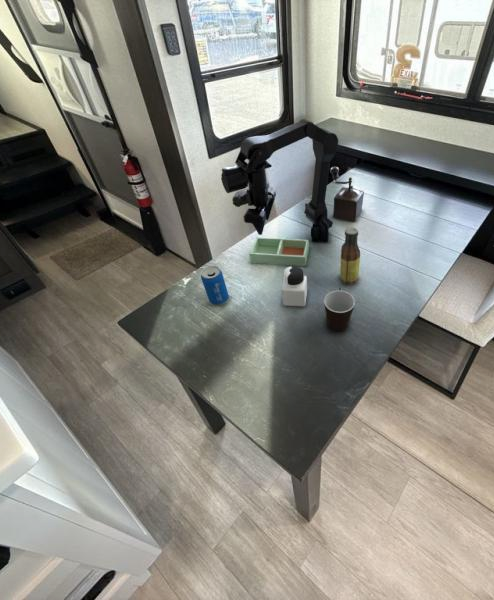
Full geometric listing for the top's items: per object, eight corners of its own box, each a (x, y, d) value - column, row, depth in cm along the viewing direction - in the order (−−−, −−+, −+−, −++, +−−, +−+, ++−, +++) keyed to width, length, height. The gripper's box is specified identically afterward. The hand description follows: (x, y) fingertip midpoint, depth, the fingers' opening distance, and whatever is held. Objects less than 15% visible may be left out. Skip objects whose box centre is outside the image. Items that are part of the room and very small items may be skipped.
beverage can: (212, 309, 100) (202, 281, 92) (207, 296, 104) (197, 269, 96) (231, 302, 102) (224, 274, 94) (225, 290, 106) (217, 262, 98)
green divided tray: (257, 245, 123) (256, 236, 120) (308, 248, 121) (308, 239, 118) (251, 262, 116) (249, 253, 113) (305, 266, 114) (305, 257, 111)
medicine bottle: (307, 291, 105) (306, 263, 96) (305, 307, 100) (304, 279, 91) (286, 290, 105) (283, 262, 97) (283, 305, 100) (280, 278, 92)
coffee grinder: (363, 209, 140) (367, 169, 127) (355, 222, 133) (359, 181, 120) (330, 203, 145) (332, 164, 132) (321, 215, 138) (322, 175, 125)
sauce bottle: (360, 276, 109) (366, 227, 95) (354, 287, 105) (360, 238, 91) (342, 271, 111) (346, 223, 97) (336, 282, 107) (339, 233, 93)
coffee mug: (343, 339, 90) (346, 317, 83) (318, 327, 94) (318, 305, 87) (360, 313, 97) (364, 290, 90) (336, 303, 100) (337, 280, 93)
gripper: (241, 169, 104) (248, 211, 116) (222, 197, 92) (233, 241, 103) (273, 171, 103) (278, 213, 114) (259, 199, 90) (265, 243, 101)
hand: (263, 227), depth 108 cm, fingers open, 9 cm apart
